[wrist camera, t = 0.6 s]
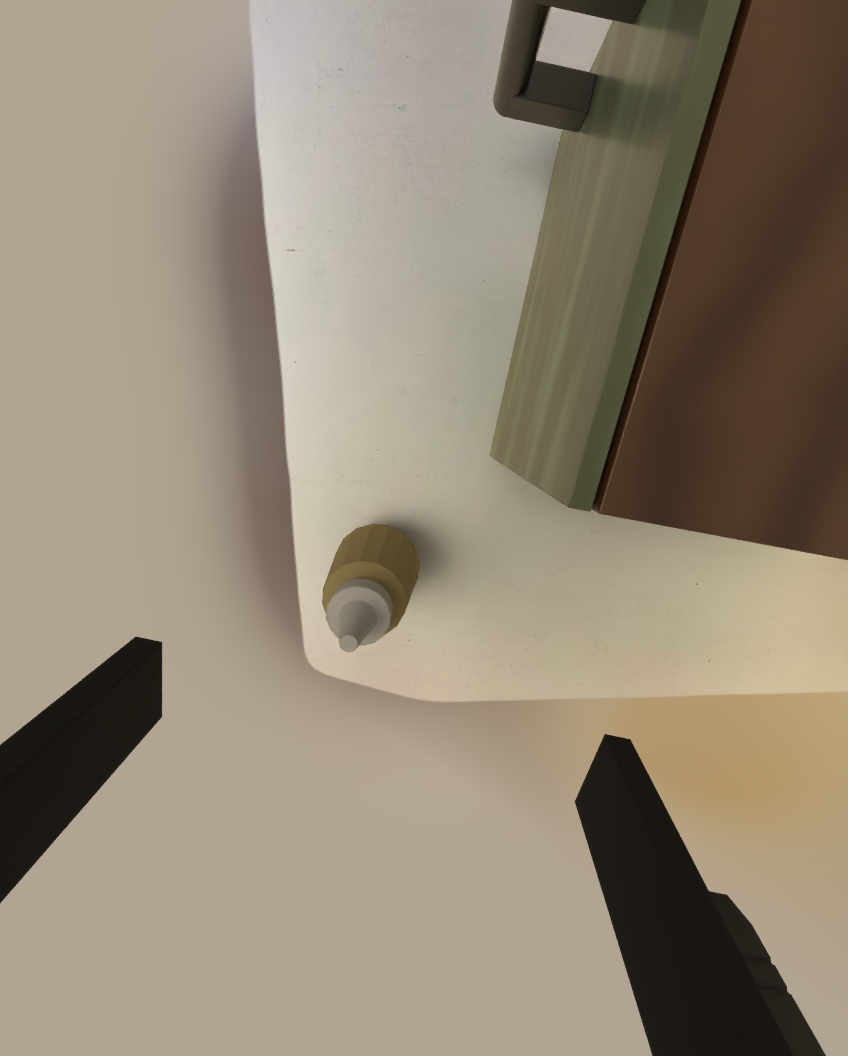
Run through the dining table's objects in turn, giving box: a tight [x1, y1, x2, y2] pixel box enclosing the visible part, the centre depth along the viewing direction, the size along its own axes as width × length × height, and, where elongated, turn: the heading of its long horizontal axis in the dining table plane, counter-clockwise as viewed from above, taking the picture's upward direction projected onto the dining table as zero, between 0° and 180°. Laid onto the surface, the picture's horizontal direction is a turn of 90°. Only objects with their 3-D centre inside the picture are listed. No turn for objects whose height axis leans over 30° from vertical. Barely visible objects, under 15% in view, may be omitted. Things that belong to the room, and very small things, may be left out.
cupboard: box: [592, 0, 848, 560], centre depth 26 cm, size 18×26×24 cm
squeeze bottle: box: [322, 524, 420, 652], centre depth 35 cm, size 8×8×18 cm
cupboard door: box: [490, 0, 741, 511], centre depth 26 cm, size 7×26×24 cm, turn 170°
